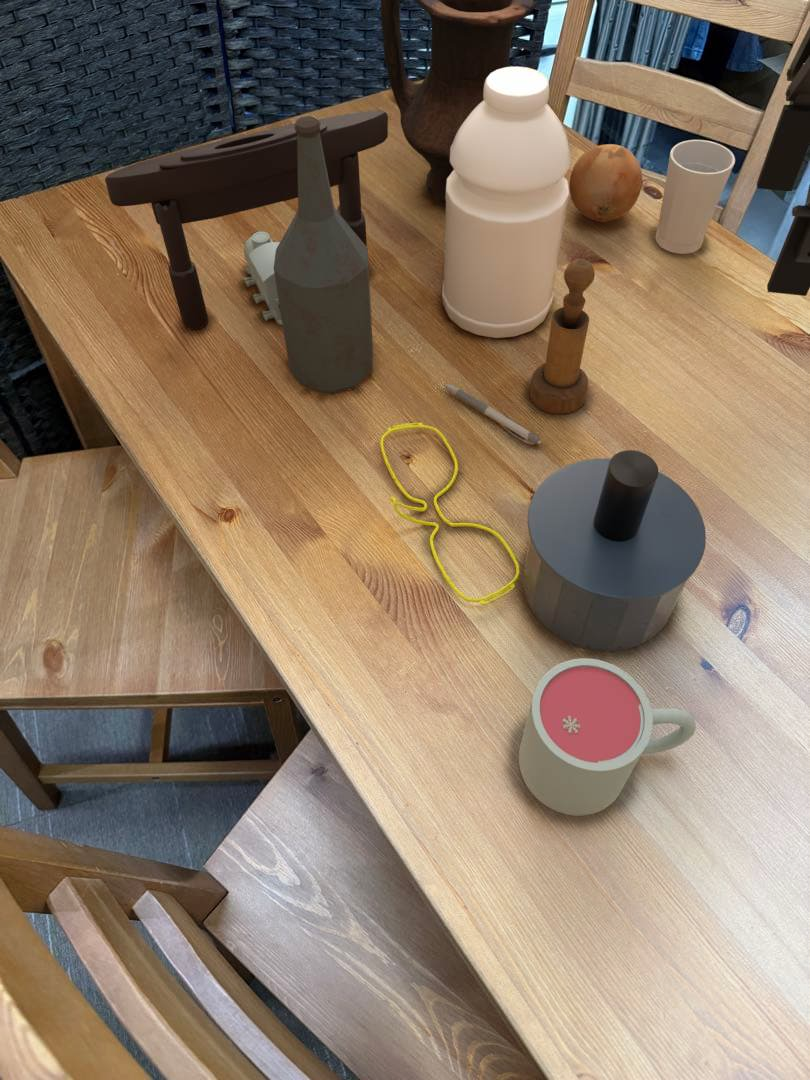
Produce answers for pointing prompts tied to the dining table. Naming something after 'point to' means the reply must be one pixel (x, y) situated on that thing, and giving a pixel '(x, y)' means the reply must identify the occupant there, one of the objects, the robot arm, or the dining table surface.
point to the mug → (590, 735)
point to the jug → (448, 72)
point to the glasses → (420, 425)
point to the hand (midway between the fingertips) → (779, 236)
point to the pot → (592, 611)
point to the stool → (243, 194)
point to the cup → (692, 193)
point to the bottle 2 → (505, 207)
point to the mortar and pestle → (565, 348)
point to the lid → (616, 528)
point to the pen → (495, 416)
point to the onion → (605, 182)
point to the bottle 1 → (323, 281)
